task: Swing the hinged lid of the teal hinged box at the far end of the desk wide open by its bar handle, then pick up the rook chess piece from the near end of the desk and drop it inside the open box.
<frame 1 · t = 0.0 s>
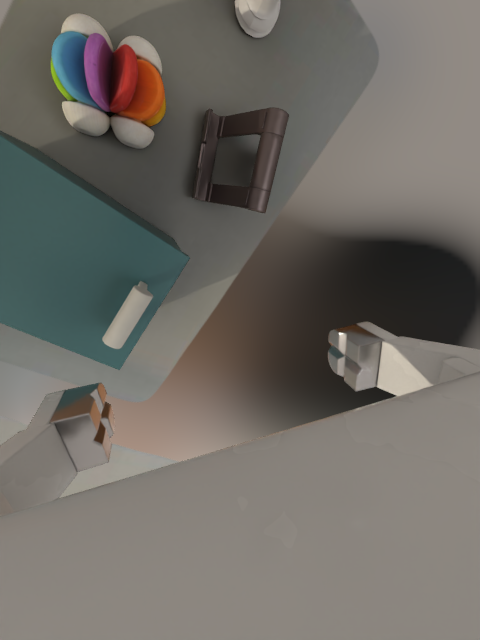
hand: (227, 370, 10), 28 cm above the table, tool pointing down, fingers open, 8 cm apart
lid: (52, 272, 21), point 13 cm above the table, hinge at 0.0°
teal hinged box: (84, 247, 32), on the table
multicoloured rounded lobed piece: (115, 96, 28), on the table
tablet stand: (230, 167, 33), on the table
rook chess piece: (254, 12, 29), on the table
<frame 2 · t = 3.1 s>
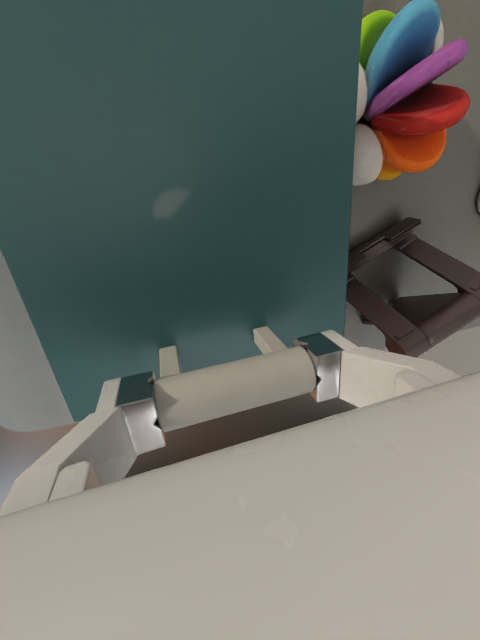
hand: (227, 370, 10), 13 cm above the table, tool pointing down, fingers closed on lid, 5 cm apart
lid: (201, 186, 8), point 13 cm above the table, hinge at 0.1°, touching gripper
multicoloured rounded lobed piece: (361, 115, 21), on the table
tablet stand: (370, 277, 27), on the table
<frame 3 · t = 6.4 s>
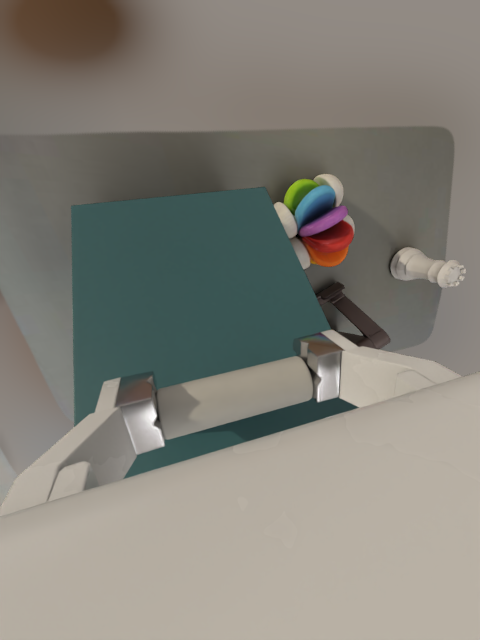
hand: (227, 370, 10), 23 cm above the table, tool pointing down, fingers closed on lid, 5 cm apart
lid: (200, 280, 14), point 18 cm above the table, hinge at 50.8°, touching gripper
multicoloured rounded lobed piece: (302, 223, 33), on the table
tablet stand: (316, 319, 39), on the table
rook chess piece: (400, 262, 39), on the table
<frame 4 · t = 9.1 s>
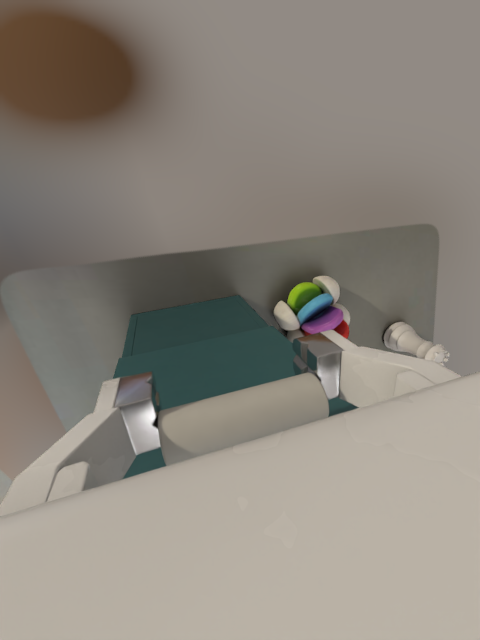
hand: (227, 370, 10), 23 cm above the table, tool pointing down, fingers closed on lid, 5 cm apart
lid: (216, 370, 15), point 19 cm above the table, hinge at 93.7°, touching gripper
teal hinged box: (197, 361, 36), on the table
multicoloured rounded lobed piece: (304, 310, 37), on the table
rook chess piece: (393, 333, 43), on the table
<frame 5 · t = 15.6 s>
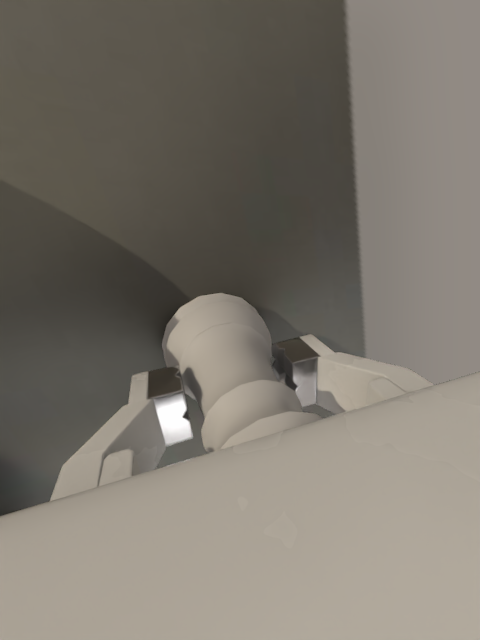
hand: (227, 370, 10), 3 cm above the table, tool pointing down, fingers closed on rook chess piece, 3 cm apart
rook chess piece: (213, 336, 13), on the table, touching gripper
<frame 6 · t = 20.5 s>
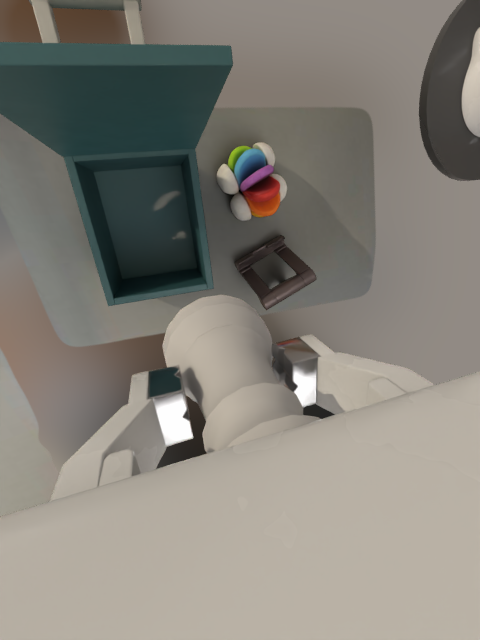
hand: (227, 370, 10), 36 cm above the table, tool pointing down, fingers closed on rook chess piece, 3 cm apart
lid: (112, 84, 19), point 19 cm above the table, hinge at 93.6°
teal hinged box: (150, 224, 40), on the table
multicoloured rounded lobed piece: (247, 184, 42), on the table
tablet stand: (265, 268, 47), on the table
rook chess piece: (213, 338, 13), point 33 cm above the table, touching gripper
when the fingers open (11 cm above the table, at t = 25.7 s): rook chess piece drops 7 cm, resting on teal hinged box.
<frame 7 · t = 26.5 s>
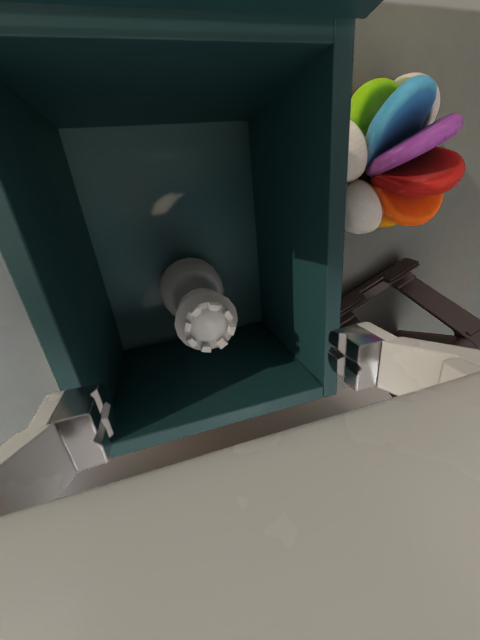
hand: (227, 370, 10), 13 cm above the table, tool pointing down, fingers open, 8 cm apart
teal hinged box: (180, 243, 20), on the table
multicoloured rounded lobed piece: (361, 165, 22), on the table
tablet stand: (370, 312, 28), on the table
rook chess piece: (190, 286, 21), point 1 cm above the table, touching teal hinged box
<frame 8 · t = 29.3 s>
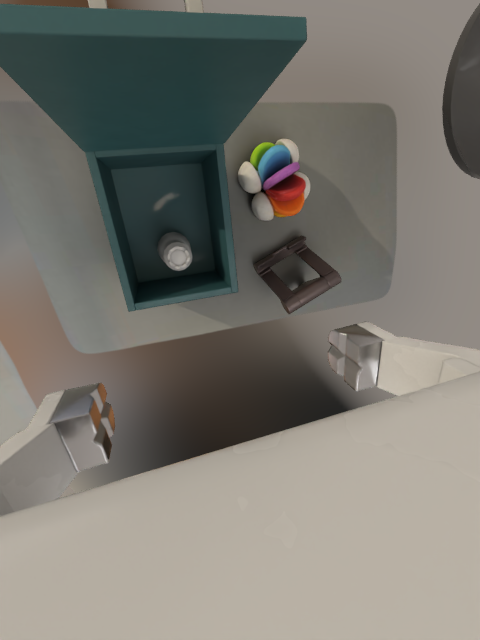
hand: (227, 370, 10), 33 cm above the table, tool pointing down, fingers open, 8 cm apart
lid: (149, 69, 17), point 19 cm above the table, hinge at 93.6°
teal hinged box: (168, 225, 38), on the table
multicoloured rounded lobed piece: (268, 183, 40), on the table
tablet stand: (285, 270, 46), on the table
rook chess piece: (174, 248, 39), point 1 cm above the table, touching teal hinged box
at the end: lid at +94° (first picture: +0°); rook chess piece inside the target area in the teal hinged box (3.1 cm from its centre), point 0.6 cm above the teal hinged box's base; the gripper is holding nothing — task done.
